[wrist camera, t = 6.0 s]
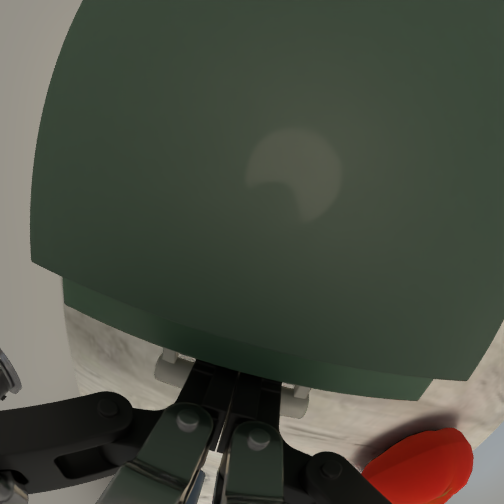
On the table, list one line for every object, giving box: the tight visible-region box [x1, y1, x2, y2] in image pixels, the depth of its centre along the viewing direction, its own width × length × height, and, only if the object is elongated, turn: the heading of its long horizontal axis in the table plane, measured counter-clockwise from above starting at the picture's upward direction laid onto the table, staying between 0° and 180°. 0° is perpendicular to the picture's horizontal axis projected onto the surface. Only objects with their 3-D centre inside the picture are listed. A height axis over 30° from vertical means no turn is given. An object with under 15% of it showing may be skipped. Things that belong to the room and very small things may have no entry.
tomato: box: [361, 428, 473, 504], centre depth 16 cm, size 13×12×8 cm
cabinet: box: [30, 0, 504, 381], centre depth 9 cm, size 15×14×10 cm
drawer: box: [63, 277, 433, 419], centre depth 10 cm, size 18×12×8 cm
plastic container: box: [186, 470, 205, 504], centre depth 21 cm, size 5×5×9 cm
